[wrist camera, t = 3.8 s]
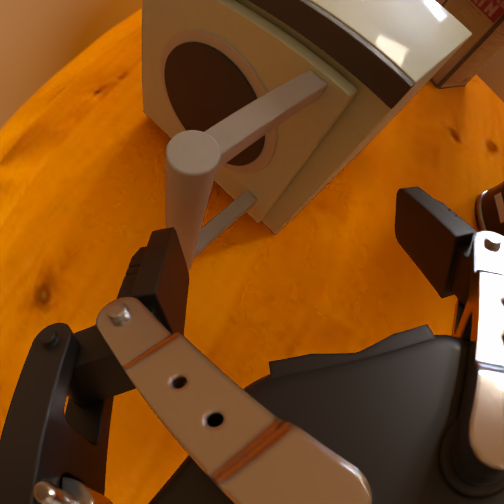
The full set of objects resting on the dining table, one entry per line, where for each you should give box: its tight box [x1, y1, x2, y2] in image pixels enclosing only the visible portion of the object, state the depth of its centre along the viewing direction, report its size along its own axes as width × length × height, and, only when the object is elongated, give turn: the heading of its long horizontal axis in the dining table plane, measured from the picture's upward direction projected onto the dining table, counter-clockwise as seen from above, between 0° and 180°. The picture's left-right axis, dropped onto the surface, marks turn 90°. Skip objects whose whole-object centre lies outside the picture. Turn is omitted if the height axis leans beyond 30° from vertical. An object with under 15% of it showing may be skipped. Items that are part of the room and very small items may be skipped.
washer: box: [235, 0, 472, 235], centre depth 20 cm, size 16×16×19 cm
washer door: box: [142, 0, 358, 271], centre depth 17 cm, size 14×8×14 cm, turn 46°
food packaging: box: [430, 0, 504, 88], centre depth 32 cm, size 13×9×25 cm
